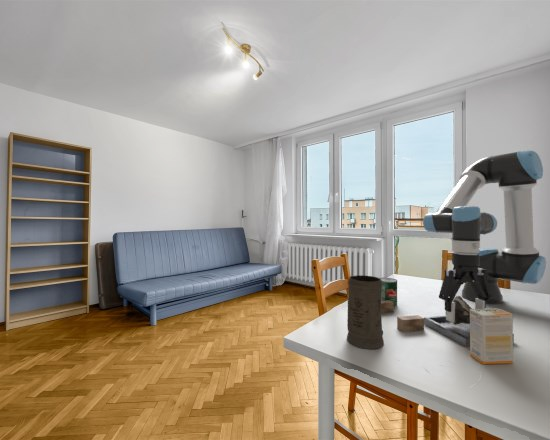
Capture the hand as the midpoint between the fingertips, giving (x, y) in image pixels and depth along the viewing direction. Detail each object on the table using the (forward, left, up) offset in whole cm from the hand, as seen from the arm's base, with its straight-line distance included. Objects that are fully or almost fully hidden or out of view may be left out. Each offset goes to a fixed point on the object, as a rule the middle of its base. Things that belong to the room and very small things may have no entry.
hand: (465, 320), depth 88 cm
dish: (0, 0, -4) cm, 4 cm away
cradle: (+16, -14, -4) cm, 22 cm away
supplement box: (+8, +15, -4) cm, 18 cm away
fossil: (0, 0, -1) cm, 1 cm away
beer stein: (+34, -2, -4) cm, 34 cm away
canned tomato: (+9, -30, -4) cm, 32 cm away
